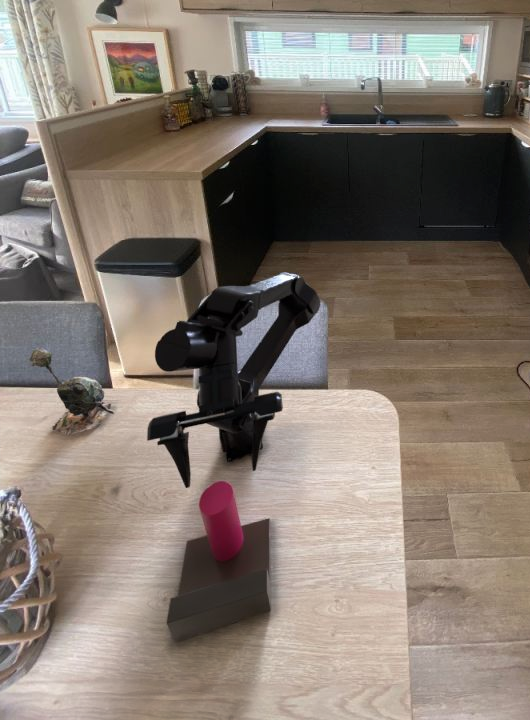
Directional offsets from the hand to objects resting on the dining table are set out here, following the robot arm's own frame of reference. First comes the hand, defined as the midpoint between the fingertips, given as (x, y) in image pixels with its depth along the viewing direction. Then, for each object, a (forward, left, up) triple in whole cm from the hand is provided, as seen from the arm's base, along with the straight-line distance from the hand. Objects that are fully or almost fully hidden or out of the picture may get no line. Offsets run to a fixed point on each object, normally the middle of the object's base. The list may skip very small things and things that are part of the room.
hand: (221, 478), depth 57 cm
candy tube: (+1, +3, -9) cm, 10 cm away
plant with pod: (+25, -32, -12) cm, 42 cm away
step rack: (+1, +7, -11) cm, 13 cm away
